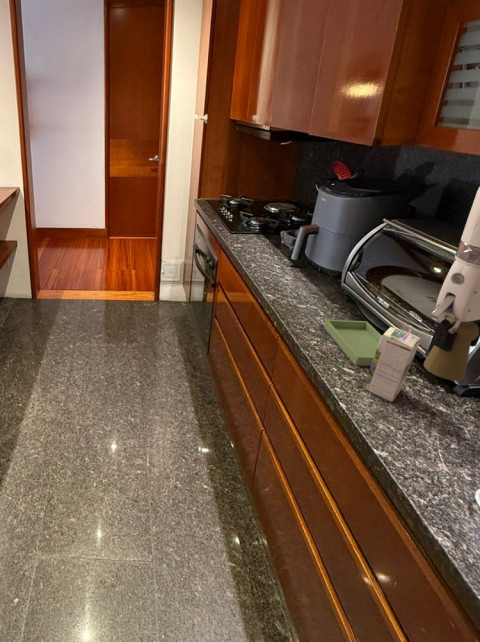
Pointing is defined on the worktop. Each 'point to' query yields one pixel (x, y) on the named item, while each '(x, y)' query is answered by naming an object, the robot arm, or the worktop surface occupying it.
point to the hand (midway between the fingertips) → (453, 344)
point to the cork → (453, 354)
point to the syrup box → (391, 363)
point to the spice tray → (355, 339)
